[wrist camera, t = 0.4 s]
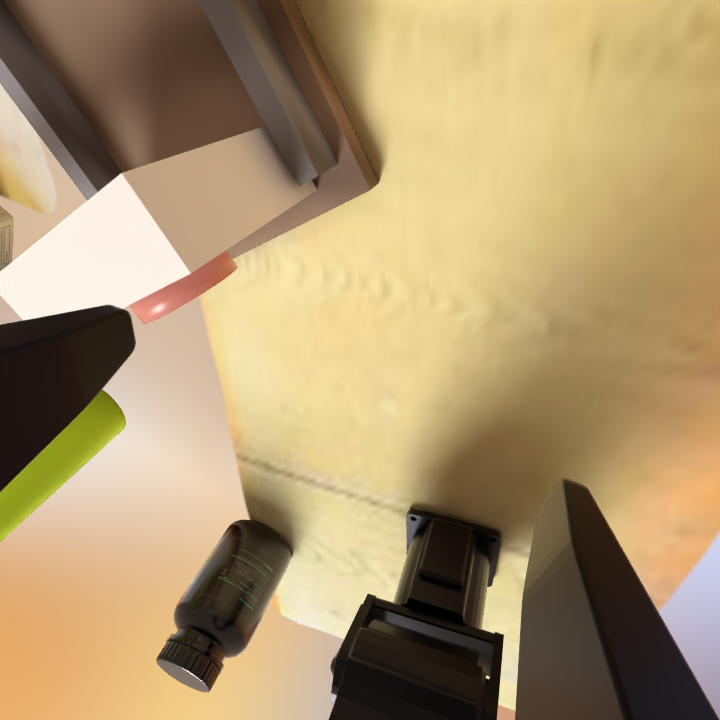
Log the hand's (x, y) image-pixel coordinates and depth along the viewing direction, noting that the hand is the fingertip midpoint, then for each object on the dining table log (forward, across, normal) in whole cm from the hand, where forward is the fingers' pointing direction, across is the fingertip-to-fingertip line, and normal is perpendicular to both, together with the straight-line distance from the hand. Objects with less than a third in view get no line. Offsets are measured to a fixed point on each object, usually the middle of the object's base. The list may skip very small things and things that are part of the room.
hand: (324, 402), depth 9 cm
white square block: (+12, +10, +3) cm, 16 cm away
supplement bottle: (+14, +8, +36) cm, 39 cm away
